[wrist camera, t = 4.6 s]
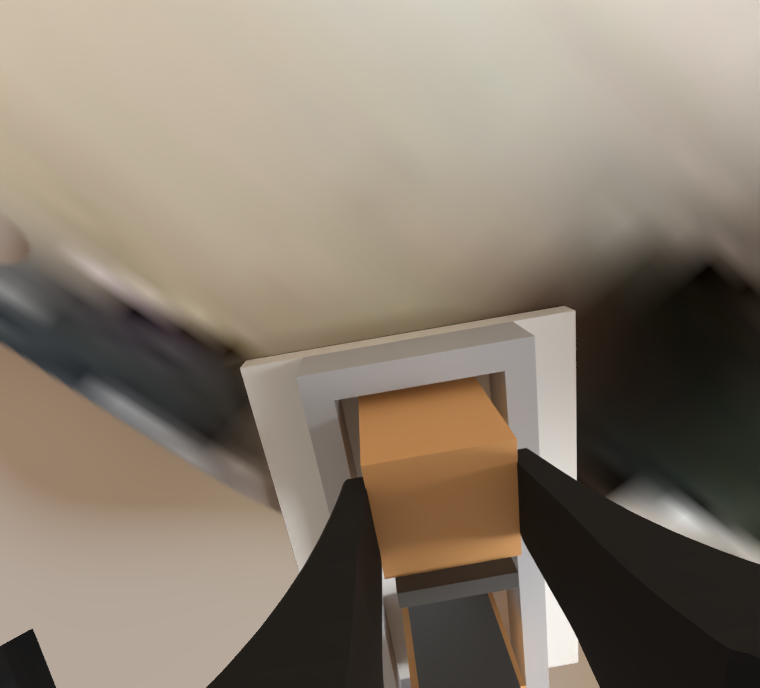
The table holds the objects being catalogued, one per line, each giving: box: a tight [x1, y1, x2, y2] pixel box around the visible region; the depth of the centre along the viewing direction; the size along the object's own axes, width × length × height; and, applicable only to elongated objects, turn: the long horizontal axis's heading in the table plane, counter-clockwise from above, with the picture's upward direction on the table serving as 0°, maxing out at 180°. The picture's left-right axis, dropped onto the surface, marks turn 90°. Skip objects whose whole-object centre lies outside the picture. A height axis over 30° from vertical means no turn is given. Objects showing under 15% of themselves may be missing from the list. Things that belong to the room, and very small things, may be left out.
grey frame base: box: [240, 306, 578, 688], centre depth 15 cm, size 12×18×5 cm, turn 9°
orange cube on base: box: [358, 376, 522, 609], centre depth 12 cm, size 4×5×4 cm
